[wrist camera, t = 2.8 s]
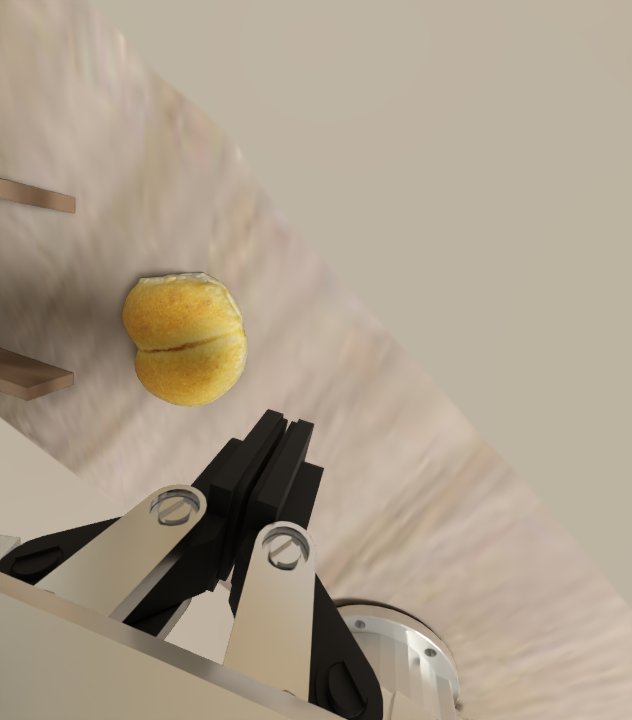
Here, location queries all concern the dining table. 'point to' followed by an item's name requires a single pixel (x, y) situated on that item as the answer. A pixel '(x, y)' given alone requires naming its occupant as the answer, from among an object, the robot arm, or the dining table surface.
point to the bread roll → (186, 337)
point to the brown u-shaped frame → (8, 367)
